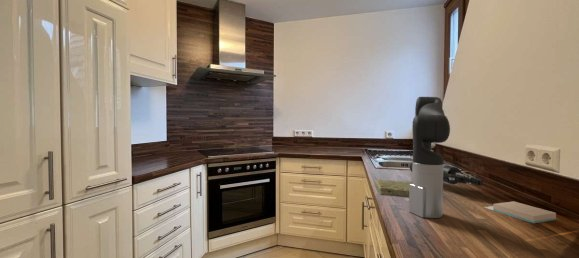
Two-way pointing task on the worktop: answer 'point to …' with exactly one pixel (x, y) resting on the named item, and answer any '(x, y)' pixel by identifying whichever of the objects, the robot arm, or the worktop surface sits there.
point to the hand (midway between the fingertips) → (481, 183)
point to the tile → (524, 212)
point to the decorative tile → (393, 187)
